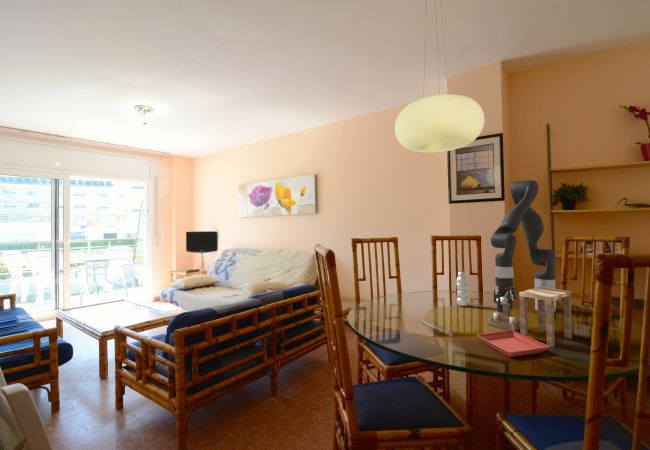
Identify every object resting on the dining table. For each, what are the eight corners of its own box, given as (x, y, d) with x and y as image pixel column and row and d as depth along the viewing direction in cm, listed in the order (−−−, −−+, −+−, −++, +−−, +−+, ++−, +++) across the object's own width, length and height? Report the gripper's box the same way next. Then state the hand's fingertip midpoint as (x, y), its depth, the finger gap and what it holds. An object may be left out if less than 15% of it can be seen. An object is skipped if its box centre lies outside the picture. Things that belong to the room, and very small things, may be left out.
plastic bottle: (470, 307, 183) (469, 272, 183) (457, 307, 184) (456, 272, 184) (467, 304, 189) (466, 270, 189) (455, 304, 191) (454, 270, 190)
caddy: (497, 321, 157) (496, 299, 157) (523, 328, 147) (522, 304, 147) (487, 325, 153) (487, 302, 153) (513, 332, 143) (512, 307, 142)
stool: (540, 329, 144) (539, 286, 144) (571, 337, 134) (570, 291, 134) (520, 337, 136) (519, 292, 135) (552, 347, 125) (551, 297, 125)
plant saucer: (550, 354, 120) (550, 345, 120) (509, 360, 116) (509, 351, 116) (512, 337, 137) (512, 329, 137) (476, 342, 134) (475, 334, 133)
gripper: (504, 273, 156) (505, 306, 156) (487, 276, 149) (488, 311, 149) (520, 275, 150) (521, 309, 150) (503, 278, 142) (504, 315, 142)
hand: (505, 310), depth 149 cm, fingers open, 8 cm apart
